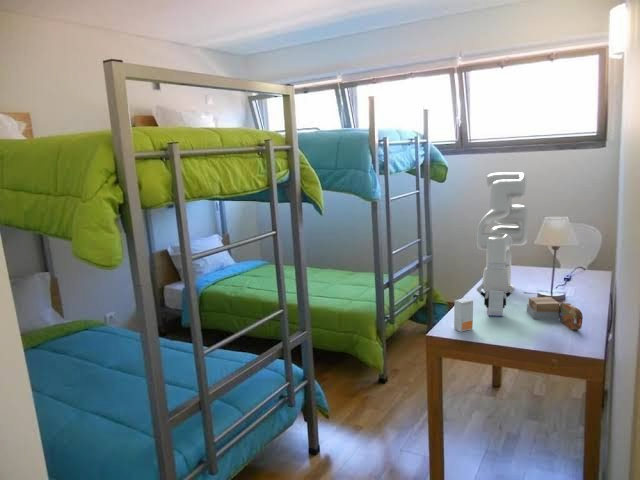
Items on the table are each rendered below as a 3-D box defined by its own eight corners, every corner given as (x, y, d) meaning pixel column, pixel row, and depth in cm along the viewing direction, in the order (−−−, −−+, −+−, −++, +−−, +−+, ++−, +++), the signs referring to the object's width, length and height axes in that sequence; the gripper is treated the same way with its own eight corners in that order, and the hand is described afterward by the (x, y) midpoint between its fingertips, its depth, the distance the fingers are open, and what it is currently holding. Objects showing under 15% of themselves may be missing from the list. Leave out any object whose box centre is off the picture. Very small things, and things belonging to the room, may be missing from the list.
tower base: (526, 312, 209) (527, 304, 208) (551, 312, 207) (551, 304, 207) (533, 320, 199) (533, 312, 198) (559, 320, 197) (559, 312, 197)
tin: (557, 319, 197) (558, 299, 196) (565, 319, 197) (566, 299, 196) (574, 333, 182) (576, 312, 181) (583, 333, 182) (584, 311, 181)
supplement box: (503, 317, 203) (503, 290, 201) (488, 316, 204) (488, 290, 202) (501, 312, 208) (501, 286, 206) (486, 312, 210) (487, 286, 208)
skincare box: (461, 332, 188) (461, 302, 186) (453, 328, 192) (453, 300, 190) (473, 329, 191) (473, 300, 189) (466, 326, 195) (466, 297, 192)
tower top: (528, 305, 207) (528, 297, 206) (550, 304, 206) (550, 297, 206) (536, 312, 198) (537, 304, 197) (559, 311, 198) (559, 303, 197)
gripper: (515, 263, 205) (514, 304, 208) (473, 263, 208) (472, 304, 211) (519, 267, 197) (518, 310, 200) (475, 268, 200) (475, 309, 203)
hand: (494, 306), depth 206 cm, fingers closed on supplement box, 5 cm apart
